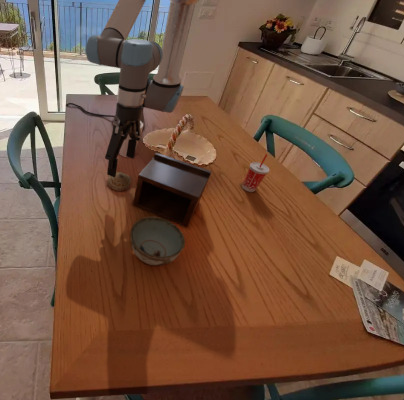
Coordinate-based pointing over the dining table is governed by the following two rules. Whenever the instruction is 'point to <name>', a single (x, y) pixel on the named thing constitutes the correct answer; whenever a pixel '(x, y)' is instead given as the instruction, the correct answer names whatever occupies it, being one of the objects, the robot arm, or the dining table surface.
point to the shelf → (170, 188)
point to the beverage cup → (255, 175)
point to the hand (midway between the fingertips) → (121, 165)
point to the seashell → (119, 181)
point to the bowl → (156, 240)
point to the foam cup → (125, 144)
